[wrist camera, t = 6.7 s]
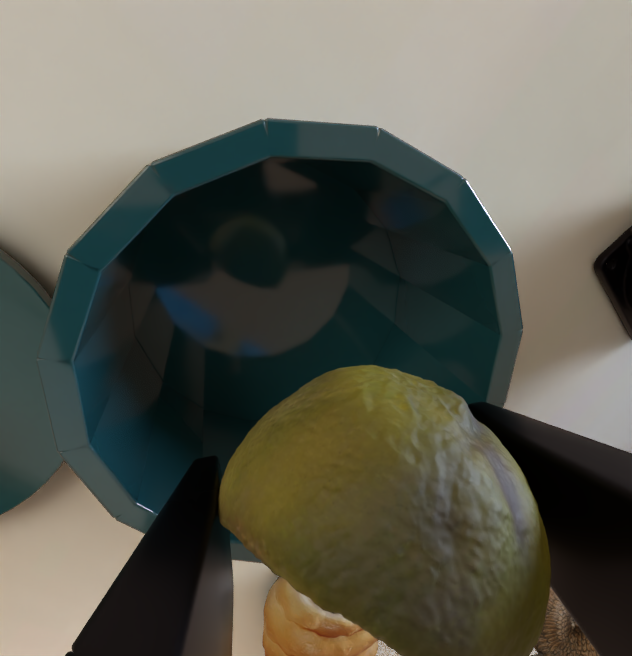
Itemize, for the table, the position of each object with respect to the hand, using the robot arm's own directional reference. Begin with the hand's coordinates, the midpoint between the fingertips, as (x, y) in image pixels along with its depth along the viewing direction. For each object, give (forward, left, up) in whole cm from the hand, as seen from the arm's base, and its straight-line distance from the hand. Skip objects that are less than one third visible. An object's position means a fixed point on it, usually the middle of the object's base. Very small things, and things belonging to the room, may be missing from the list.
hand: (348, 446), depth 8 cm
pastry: (-15, +11, -10) cm, 21 cm away
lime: (0, 0, -1) cm, 1 cm away
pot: (0, 0, -10) cm, 10 cm away
